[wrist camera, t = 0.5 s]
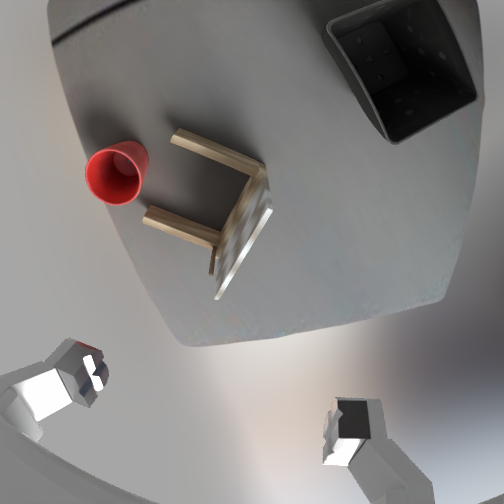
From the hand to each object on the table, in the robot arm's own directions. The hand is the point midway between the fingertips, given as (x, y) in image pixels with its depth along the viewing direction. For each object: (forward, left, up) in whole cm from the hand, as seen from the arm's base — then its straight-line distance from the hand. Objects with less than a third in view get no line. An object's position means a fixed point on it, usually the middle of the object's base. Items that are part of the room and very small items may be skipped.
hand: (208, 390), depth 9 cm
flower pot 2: (-21, +15, -49) cm, 56 cm away
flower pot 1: (+17, -16, -49) cm, 54 cm away
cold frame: (+17, -1, -49) cm, 51 cm away
